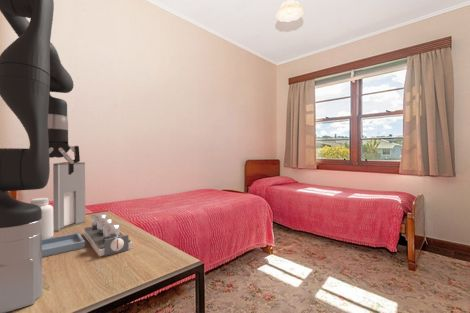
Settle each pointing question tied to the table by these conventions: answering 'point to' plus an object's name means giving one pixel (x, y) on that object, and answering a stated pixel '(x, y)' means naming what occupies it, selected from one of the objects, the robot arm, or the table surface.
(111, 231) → the cylinder
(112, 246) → the scale
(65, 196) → the cabinet
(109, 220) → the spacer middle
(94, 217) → the cylinder
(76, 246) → the tray
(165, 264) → the table surface
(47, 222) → the pill bottle
